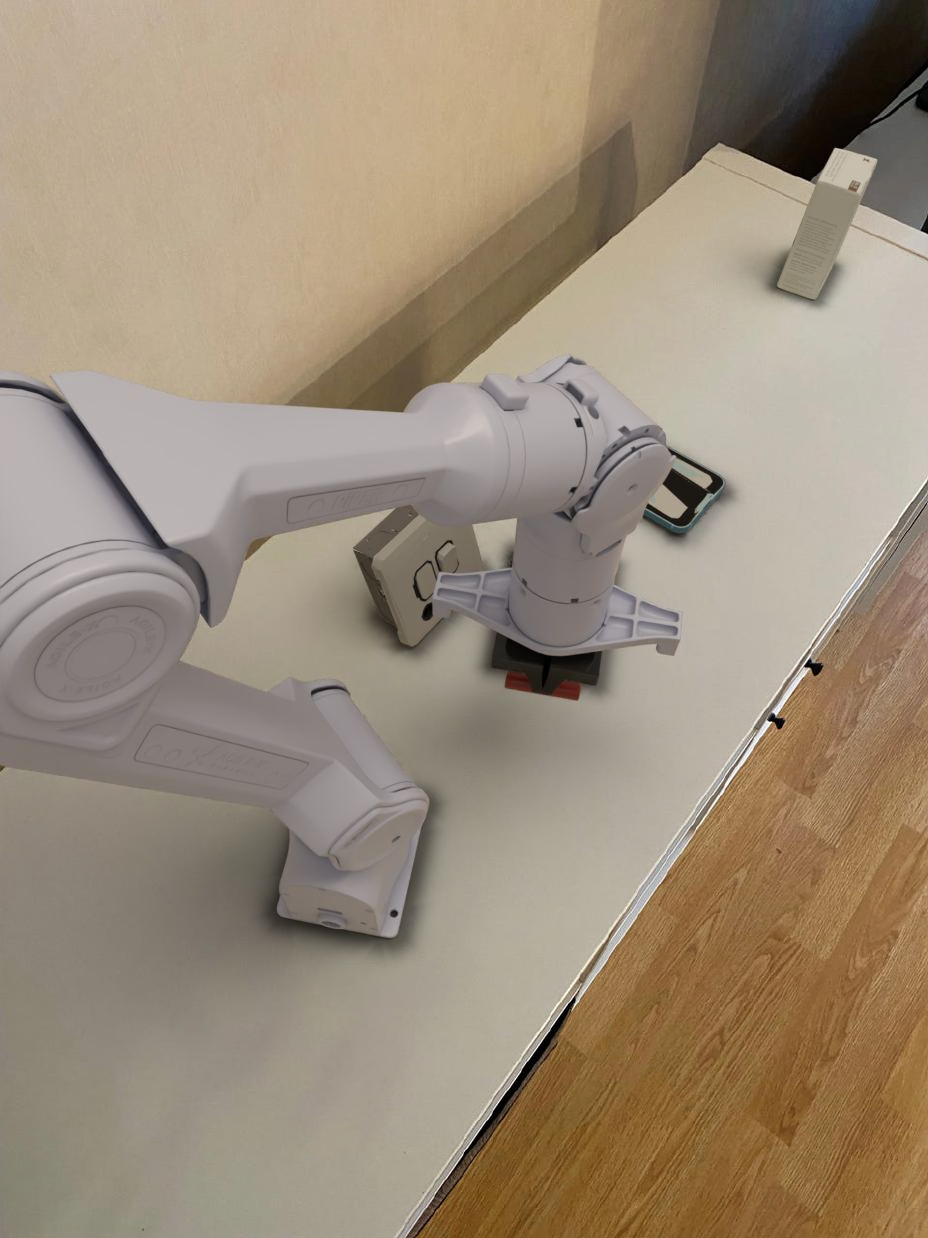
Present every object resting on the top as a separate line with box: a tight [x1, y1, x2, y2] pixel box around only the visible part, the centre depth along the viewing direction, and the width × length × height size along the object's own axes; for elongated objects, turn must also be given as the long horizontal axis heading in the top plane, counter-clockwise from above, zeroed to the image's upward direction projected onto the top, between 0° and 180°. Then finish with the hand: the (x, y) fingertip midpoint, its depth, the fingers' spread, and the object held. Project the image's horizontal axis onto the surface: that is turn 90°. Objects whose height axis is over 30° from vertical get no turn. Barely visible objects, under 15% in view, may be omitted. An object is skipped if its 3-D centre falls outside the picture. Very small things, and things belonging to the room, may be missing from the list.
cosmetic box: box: [776, 147, 878, 300], centre depth 92 cm, size 6×4×12 cm
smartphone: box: [643, 444, 726, 534], centre depth 83 cm, size 7×1×15 cm
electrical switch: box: [352, 505, 485, 647], centre depth 72 cm, size 9×5×9 cm, turn 141°
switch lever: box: [503, 658, 582, 702], centre depth 68 cm, size 12×5×2 cm, turn 169°
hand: (543, 680), depth 64 cm, fingers closed, pressing on switch lever
